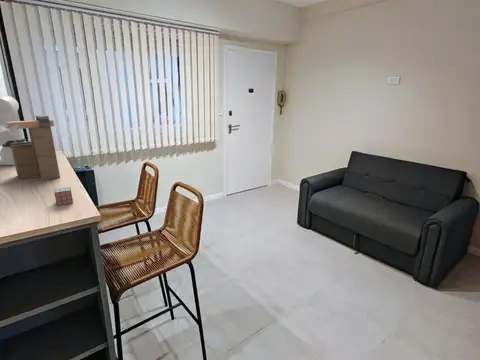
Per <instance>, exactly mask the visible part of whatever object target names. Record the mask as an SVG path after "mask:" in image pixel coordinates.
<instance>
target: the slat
mask: <svg viewBox="0 0 480 360" xmlns="http://www.w3.org/2000/svg"><path fill="white" fill-rule="evenodd" d="M49 122H50V127H55V123H54V119H50V118H49ZM16 123H17V124H19V125H20V127H19V128H17V129H22V130H23V129H28V128H36V127H40V123H39V120H35V119H33V120H20V121H15V122H7V126H8V128H10V127H12V126H13V125H15V124H16Z"/></svg>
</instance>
